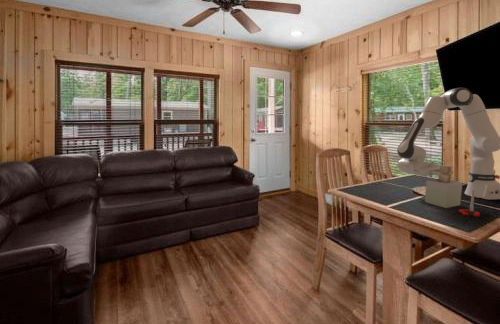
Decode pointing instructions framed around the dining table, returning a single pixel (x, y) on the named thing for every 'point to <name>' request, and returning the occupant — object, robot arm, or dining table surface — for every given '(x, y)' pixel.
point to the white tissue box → (443, 193)
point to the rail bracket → (445, 173)
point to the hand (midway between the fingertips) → (446, 173)
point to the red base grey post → (470, 208)
